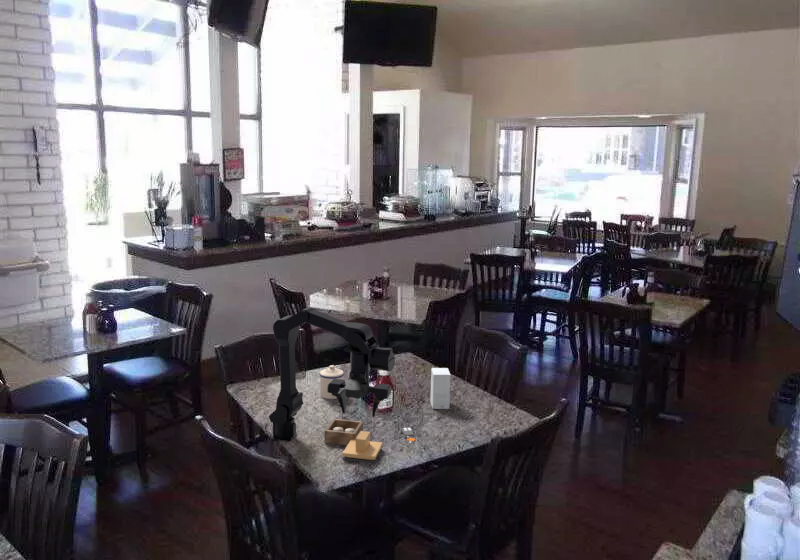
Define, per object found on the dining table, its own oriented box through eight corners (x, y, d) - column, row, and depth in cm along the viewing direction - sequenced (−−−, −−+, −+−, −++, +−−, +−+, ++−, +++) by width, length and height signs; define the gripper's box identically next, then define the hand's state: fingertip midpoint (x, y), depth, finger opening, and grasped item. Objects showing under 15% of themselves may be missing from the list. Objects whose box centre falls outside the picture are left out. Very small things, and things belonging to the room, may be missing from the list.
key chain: (400, 431, 224) (400, 427, 224) (411, 430, 225) (411, 426, 225) (408, 448, 212) (408, 443, 212) (419, 447, 213) (420, 442, 212)
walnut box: (324, 442, 213) (324, 430, 212) (333, 430, 223) (333, 418, 222) (355, 445, 211) (355, 433, 211) (363, 433, 221) (363, 421, 220)
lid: (342, 458, 201) (342, 440, 200) (351, 444, 211) (351, 427, 210) (374, 462, 200) (375, 443, 198) (382, 447, 209) (382, 430, 208)
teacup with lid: (338, 401, 249) (338, 370, 247) (315, 398, 251) (315, 368, 249) (350, 390, 260) (350, 361, 258) (328, 387, 263) (328, 358, 260)
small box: (449, 409, 243) (450, 374, 241) (432, 409, 243) (433, 374, 240) (446, 401, 251) (448, 367, 249) (430, 401, 251) (431, 367, 248)
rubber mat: (343, 459, 202) (343, 457, 202) (351, 446, 211) (351, 445, 210) (375, 463, 200) (375, 461, 200) (382, 450, 209) (382, 448, 209)
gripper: (321, 371, 197) (321, 421, 200) (383, 378, 193) (382, 429, 196) (333, 360, 208) (332, 408, 211) (392, 366, 204) (390, 414, 207)
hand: (358, 415), depth 206 cm, fingers open, 9 cm apart
